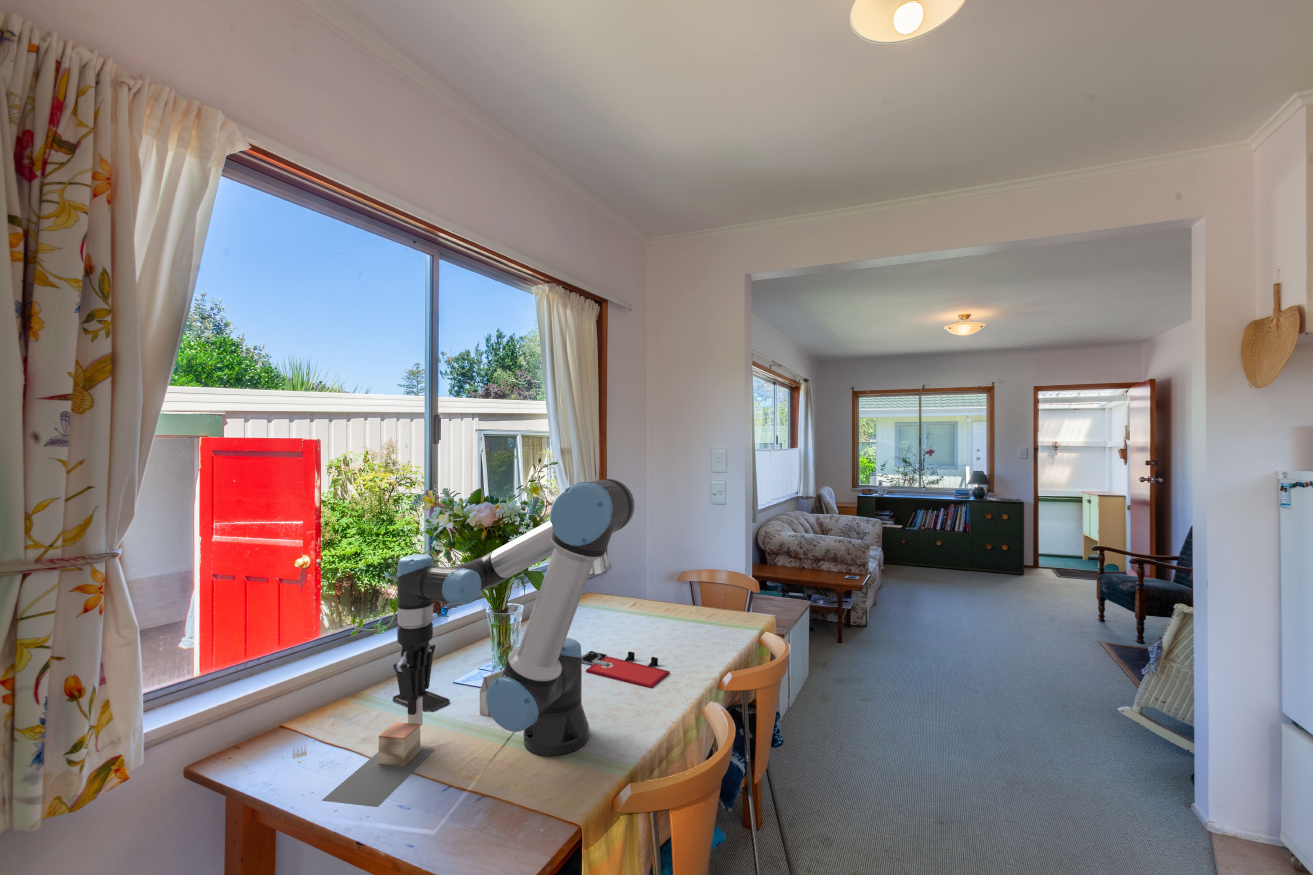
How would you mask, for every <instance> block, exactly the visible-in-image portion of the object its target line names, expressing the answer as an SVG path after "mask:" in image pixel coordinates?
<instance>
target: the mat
mask: <svg viewBox="0 0 1313 875" xmlns="http://www.w3.org/2000/svg"><path fill="white" fill-rule="evenodd" d="M434 752H435V749H433V748H432V749H431V748H421V747H420V752H419V753H418V754H416V755H415V756H414V757H413V758H412V759H411V760H410V761H409V762H408V763H407V764H406V765H405V766H398V765H388V764H379V751H377V753H375V754H374V755H373V756H371V757H370V758H369V759H368V760H367V761H366V762H365V763H363V764H362V765H361V766H360V767H359V768H358V769H357V770H356V771H354V772H353V773H351V775H349V776H348V777H347V778H346V779H345V780H343V782H341V783H340V784H339V785H338V786H336V787H335V788H334V789H333V790H332V791H331V792H329V793H328V794H327V795H326V796H325V797H324V798H323V799H321V802H322V801H323V802H331V803H340V804H341V803H342V804H348V805H349V804H350V805H358V806H365V807H375V808H378V807H380V805H381V804H383V803H384V802H385V801H386V799H388V797H389V796H391V794H393V793H394V791H396V789H398V788H399V787H400V786H401V785H402V783H403V782H405V780H407V779H408V778H409V777H410V775H412V773H414V771H416V770H417V769H418V768H419V767H420V766H421V765H422V764H423V763H424V762H425V761H426V760H427V759H428V757H429V756H430V755H432V754H433V753H434Z"/></svg>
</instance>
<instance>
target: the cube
mask: <svg viewBox="0 0 1313 875" xmlns="http://www.w3.org/2000/svg"><path fill="white" fill-rule="evenodd" d="M420 748H421V726H420V724H414V723H408V722H401V721H395V722H394V723H392V725H390V726H389V727H388V728H387V729H385V730H384V731H383V732H382V733H381V734H379V735H378V752H379V764H388V765H398V766H405V765H406V764H407V763H408V762H409V761H410V760H411V759H412V758H413V757H414V756H415V755H416V754H418V753H419V752H420Z"/></svg>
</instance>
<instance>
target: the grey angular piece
mask: <svg viewBox="0 0 1313 875" xmlns="http://www.w3.org/2000/svg"><path fill="white" fill-rule="evenodd" d="M503 670H504V669H502V670H500V671H497V672H494V673H491V674H489V675H487V676H484V677H483V680H482V683H481V685H480V686H481V687H480V689H479V716H482V717H486V718H492V717H491V713H490V711H489V710H488V708H487V704H486V693H487V689H488V687H489V686H490V684H491V683H492V682H493V681H494V679H495V678H497V677H500V676H501V674H502V672H503Z"/></svg>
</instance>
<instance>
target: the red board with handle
mask: <svg viewBox="0 0 1313 875" xmlns="http://www.w3.org/2000/svg"><path fill="white" fill-rule="evenodd" d="M635 653H636V652H634V651H628V652H627V657H626V658H625V659H620V658H617V657H611V656H609V655H608V654H606V653H601V652H597V651H593V650H590V651H588V652H587V653H585V654H583V655H582V663H584V664H588V665H591V666H590V667H588V668H586V669H585V672H586V673H587V674H590V675H594V676H595V675H596V676H598V677H603V678H608V679H611V680H615V681H618V682H624V683H628V684H632V685H635V686H639V687H642V688H643V687H644V688H647V689H653V688H654V687H655V686H656V685H658V684H659V683H660V682H661V681H662V680H665V678H666V677H668V676H669V675H670V674H671V673H670V672H671V671H670V670H665V669H662V668H657V666H659V657H655V656H651V658H650V663H649V664H648V665H646V664H641V663H637V662H634V661H636V658H635Z"/></svg>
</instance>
